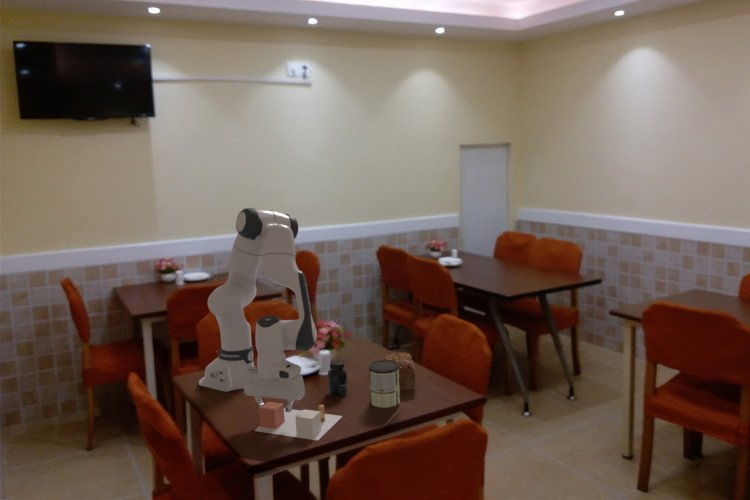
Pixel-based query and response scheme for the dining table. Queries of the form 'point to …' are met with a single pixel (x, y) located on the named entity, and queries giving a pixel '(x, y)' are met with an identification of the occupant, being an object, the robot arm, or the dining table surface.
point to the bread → (404, 370)
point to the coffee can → (384, 383)
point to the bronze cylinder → (322, 412)
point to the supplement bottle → (337, 379)
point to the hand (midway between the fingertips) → (275, 410)
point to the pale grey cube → (308, 423)
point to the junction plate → (290, 425)
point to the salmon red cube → (271, 415)
